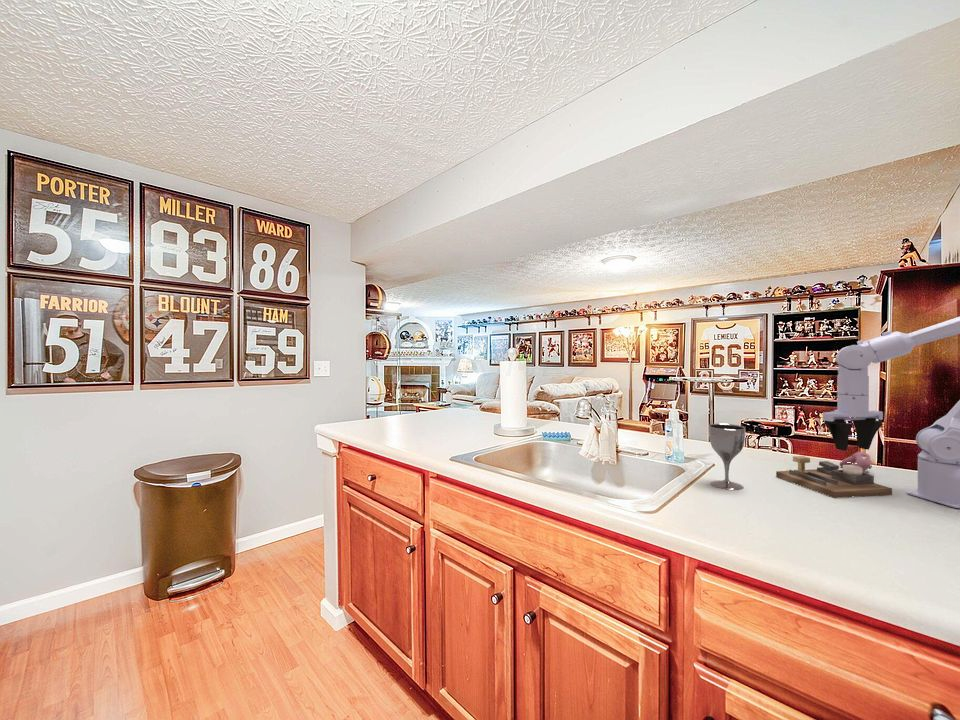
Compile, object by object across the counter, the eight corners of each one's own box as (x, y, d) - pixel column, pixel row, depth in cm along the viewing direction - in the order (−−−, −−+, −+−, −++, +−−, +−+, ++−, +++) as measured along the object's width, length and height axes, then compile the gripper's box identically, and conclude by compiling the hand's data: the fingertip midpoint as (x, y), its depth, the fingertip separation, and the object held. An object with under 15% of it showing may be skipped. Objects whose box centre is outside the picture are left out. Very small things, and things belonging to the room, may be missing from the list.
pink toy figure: (861, 483, 108) (878, 461, 106) (841, 473, 110) (857, 451, 108) (856, 474, 116) (871, 453, 114) (837, 464, 118) (852, 444, 116)
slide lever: (810, 475, 104) (810, 458, 104) (800, 475, 104) (800, 458, 104) (802, 472, 107) (802, 455, 107) (792, 472, 106) (792, 456, 106)
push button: (866, 476, 99) (866, 468, 99) (853, 477, 98) (853, 469, 98) (851, 472, 102) (851, 464, 102) (838, 473, 102) (838, 465, 102)
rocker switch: (838, 469, 106) (839, 466, 105) (830, 470, 105) (830, 466, 105) (826, 464, 109) (827, 461, 109) (818, 465, 108) (819, 461, 108)
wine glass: (709, 487, 101) (709, 428, 101) (708, 478, 108) (708, 422, 108) (747, 492, 98) (747, 430, 97) (743, 482, 105) (743, 424, 104)
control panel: (891, 494, 95) (892, 479, 95) (834, 498, 93) (834, 483, 93) (826, 474, 111) (826, 461, 111) (776, 476, 109) (776, 463, 109)
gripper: (861, 391, 105) (861, 444, 105) (811, 393, 103) (811, 446, 103) (892, 394, 98) (892, 450, 98) (838, 396, 96) (838, 453, 96)
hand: (852, 449), depth 100 cm, fingers open, 6 cm apart
